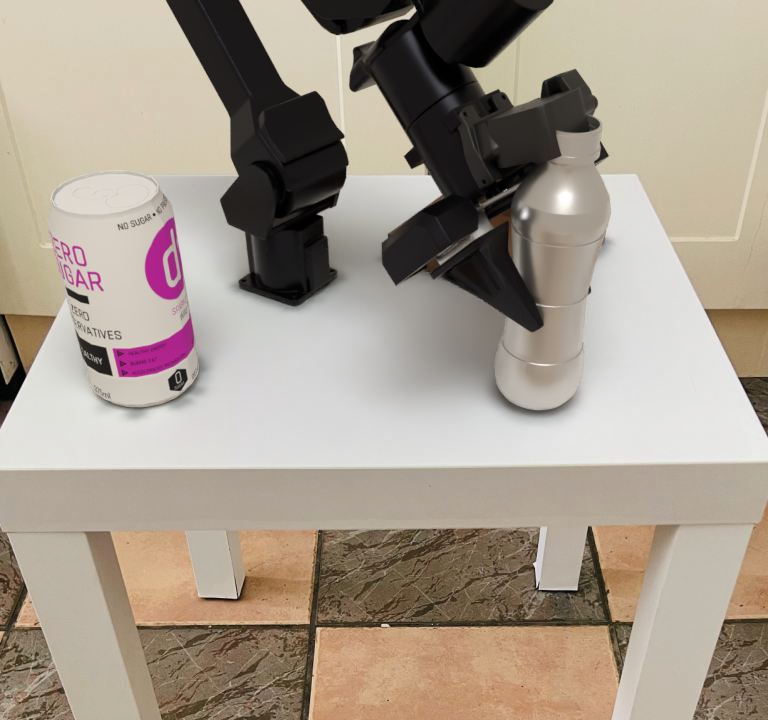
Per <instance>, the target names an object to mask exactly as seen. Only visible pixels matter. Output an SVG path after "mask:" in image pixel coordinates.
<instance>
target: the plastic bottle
mask: <svg viewBox="0 0 768 720" xmlns="http://www.w3.org/2000/svg"><path fill="white" fill-rule="evenodd" d="M586 115H587V120H588V124H589V129H590V132H585V133H569V132H563V131H559V130H556V134H557V135H556V137H557V141H558V145H559V148H560V152H561V155H562V156H560V157H558V158H556V159H553V160H550V161H547V162H543V163H539V164H536V165H535V166H534V167H533V168H532V169H531V170H530V171H529V173H528V174H527V175H526V177H525V178H524V179H523V181H522V182H521V183H520V185H519V186H518V188H517V190H516V192H515V195H514V197H513V200H512V204H511V232H512V257H513V259H512V260H513V262H514V264H515V266H516V268H517V269H518V271H519V273H520V275H521V277H522V279H523V281H524V283H525V285H526V286H527V288H528V290H529V292H530V294H531V296H532V298H533V300H534V301H535V303H536V306H537V308H538V310H539V313H540V315H541V317H542V320H543V322H544V326H543V327H542V328H540V329H539V330H537V331H535V332H530V331H528V330H527V329H525V328H524V327H522V326H520V325H519V324H517V323H516V322H514V321H513V320H511V319H510V318H508V317H507V316H505V322H504V327H503V331H502V334H501V336H500V339H499V342H498V344H497V349H496V352H495V357H494V362H493V367H494V377H495V384H496V386H497V387H498V390H499V391H500V392H501V394H502V395H503V396H504V398H505V399H506V400H507V401H509V402H510V403H512V404H514V405H515V406H518V407H520V408H523V409H527V410H533V411H547V410H552V409H556V408H558V407H561V406H562V405H564V404H565V403H566V402H567V401H569V400H570V399H571V398H572V397H573V396H574V395H575V394H576V392H577V390H578V388H579V385H580V382H581V380H582V378H583V374H584V366H585V365H584V363H585V362H584V361H585V349H584V330H585V329H584V328H585V317H586V305H587V301H588V297H589V295H588V292H589V287H590V286H591V283H592V279H593V274H594V271H595V267H596V263H597V260H598V258H599V254H600V251H601V248H602V245H603V244H602V242H603V239H604V236H605V237H606V235H605V233H606V234H607V229H608V227H609V223H610V219H611V215H612V207H611V206H612V205H611V197H610V193H609V192H608V189H607V186H606V183H605V181H604V179H603V177H602V175H601V173H600V172H599V170H598V168H597V166H595V165H594V161H595V160H597V159H598V158H599V156H600V150H601V146H600V141H601V139H602V133H603V123H602V120H601V119H600V118H597V117H596V116H594V115H593V116H592V115H588V114H586Z"/></svg>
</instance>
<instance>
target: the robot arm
mask: <svg viewBox="0 0 768 720" xmlns="http://www.w3.org/2000/svg"><path fill="white" fill-rule="evenodd" d="M554 1H555V0H300V2H301V3H302V5H303V6H304V7H305V8H306V10H307V11H308V12H309V13H310V15H311V16H312V17H313V18H314V20H315V21H316V22H317V24H319V26H320V27H321V28H322V29H324V30H325V31H327V32H328V33H329V34H332V35H334V36H341V35H349V34H352V33H356V32H359V31H361V30H365V29H367V28H371V27H374V26H377V25H379V24H380V25H381V24H383V23H386V22H388V21H391V20H394V19H398V18H401V17H403V16H406V15H407V14H409V12H410V11H412V10H413V9H415V10H416V11H414V13H413V14H411V17H410V18H401V19H398V20H395V21H392V22H391V23H389V25H388V26H387V27H385V29H384V30H383V31H382V32H381V34H380V35H379V36H378V38H377V39H376V40H372V41H368V42H366V43H363V44H360V45H356V46H355V47H353V49H352V57H353V58H352V67H351V70H350V71H349V80H348V87H349V90H350V91H351V92H352V93H358V92H361V91H363V90H366V89H368V88H370V87H373V86H376V87H377V88H378V90H379V92H380V94H381V95H382V97H383V99H384V100H385V102H386V103H387V106H388V107H389V108H390V110H391V112H392V114H393V115H394V117H395V119H396V121H397V123H399V125H400V127H401V129H402V130H403V131H404V133H405V135H406V137H407V139H408V140H409V142H410V144H411V146H412V148H410V149H409V151H407V152H406V154H404V155H403V158H404V159H405V161H406V163H407V164H408V166H409V168H410V169H411V170H413V169H415V168H418V167H419V166H422V165H423V166H424V167H425V169H426V170H427V173H428V174H429V175H430V177H431V179H432V181H433V183H434V184H435V186H436V187H437V189H438V190H439V193H440V194H441V195H443V197H444V199H442V200H440V201H438V202H436V203H434V204H432V205H430V206H428V207H426V206H425V207H426V208H425V207H423V208H424V209H423V208H422V209H421V210H419V211H418V212H416V213H415V214H413V215H412V216H413V217H412V216H411V217H412V218H411V217H410V218H411V219H409V218H408V219H409V220H408V219H407V220H408V221H407V220H406V221H407V222H406V223H405V224H403V225H402V226H401V227H400V228H399V229H398V230H396V231H395V232H394V233H393V234H392V235H391V236H389V237H388V236H387V237H386V239H384V240H383V241H381V243H380V244H381V246H380V247H381V265H382V266H383V268H384V269H385V271H386V273H387V275H388V276H389V278H390V279H391V281H392V283H393V284H394V286H395V287H398V286H400V285H402V284H404V283H405V282H407V281H408V280H410V279H412V278H414V277H415V276H417V275H419V274H420V273H422V272H424V271H426V270H425V269H426V268H427V263H428V262H430V261H431V260H432V259H433V258H434V257H436V259H437V261H438V262H439V264H440V266H439V267H438V268H436V269H435V270H434V271H432V272H429V274H428V276H429V277H430V278H431V280H432V281H435V280H437V279H439V278H440V279H443V280H445V281H447V282H449V283H450V284H452V285H454V286H456V287H458V288H460V289H462V290H463V291H465V292H466V293H469V294H470V295H473V296H474V297H475V298H478V299H479V300H481V301H483V303H485V304H487V305H489V306H490V307H492V308H493V309H494V310H496V311H498V312H499V313H500V314H502V315H504V316H505V317H506V316H507V317H508V318H510V319H511V320H513V321H514V322H516V323H517V324H519V325H520V326H522V327H524V328H525V329H527V330H528V331H530V332H535V331H537V330H539V329H540V328H542V327H543V326H544V322H543V320H542V317H541V315H540V313H539V310H538V308H537V306H536V303H535V301H534V300H533V298H532V296H531V294H530V292H529V290H528V288H527V286H526V285H525V283H524V281H523V279H522V277H521V275H520V273H519V271H518V269H517V268H516V266H515V264H514V262H513V260H512V258H511V257H510V254H509V251H508V241H509V222H508V221H506V222H504V223H502V224H501V225H499V226H497V227H495V228H494V227H493V226H492V224H491V222H490V221H491V220H493V219H495V218H496V217H498V216H500V215H502V214H503V213H505V212H507V211H509V210H511V204H512V200H513V197H514V195H515V192H516V190H517V188H518V186H519V185H520V183H521V182H522V181H523V179H524V178H525V177H526V175H527V174H528V173H529V171H530V170H531V169H532V168H533V167H534V166H535V165H536V164H539V163H543V162H547V161H550V160H553V159H556V158H558V157H560V156H562V155H561V152H560V148H559V145H558V141H557V137H556V135H557V134H556V130H559V131H563V132H569V133H585V132H590V129H589V124H588V120H587V115H586V114H588V115H592V116H594V114H595V112H596V109H598V106H599V99H598V98H597V96H596V95H594V94H593V92H592V90H591V88H590V87H589V85H588V84H587V82H586V81H585V79H584V78H583V77H582V75H581V74H580V73H579V71H578V70H577V68H573V69H570V70H566V71H563V72H560V73H557V74H555V75H553V76H550V77H548V78H546V79H544V80H543V81H542V84H541V88H540V89H541V90H540V97H536V98H534V99H532V100H529V101H528V102H527V101H526V102H525V103H522V104H518V105H515V106H514V105H513V103H512V101H511V99H510V98H509V96H508V94H506V92H504V91H501V89H500V88H497V89H495V90H492V91H490V92H488V93H486V92H485V90H484V89H483V87H482V85H481V83H480V82H479V80H478V79H477V77H476V75H475V74H474V72H473V70H472V69H483V68H486V67H489V66H490V64H491V63H493V62H494V61H495V60H496V59H497V58H498V57H499V56H500V55H501V54H502V53H503V52H504V51H505V50H506V49H507V48H508V47H509V46H510V45H511V44H512V43H513V42H515V40H516V39H517V38H519V37H520V36H521V34H523V32H525V31H526V30H527V29H528V28H529V26H531V25H532V24H533V23H534V22H535V21H536V20H537V19H538V18H539V17H540V16H541V15H542V14H543V13H544V12H545V11H546V10H547V9H549V7H550V6H551V5H552V4H553V3H554ZM165 2H166V4H167V5H168V7H169V9H170V11H171V13H172V14H173V16H174V19H175V20H176V22H177V23H178V25H179V27H180V29H181V31H182V33H183V34H184V36H185V38H186V40H187V41H188V44H189V45H190V48H191V49H192V50H193V52H194V54H195V56H196V58H197V60H198V62H199V63H200V65H201V67H202V69H203V71H204V72H205V74H206V76H207V78H208V79H209V81H210V84H211V85H212V87H213V89H214V91H215V92H216V94H217V96H218V97H219V99H220V102H221V103H222V105H223V106H224V108H225V110H226V112H227V114H228V116H229V120H230V121H229V133H230V134H229V135H230V136H229V141H230V142H229V143H230V145H229V146H230V147H229V149H230V150H229V151H230V153H229V154H230V160H231V162H232V164H233V167H234V169H235V171H236V173H237V175H238V176H237V177H236V179H234V181H233V182H232V183H231V185H230V186H229V187H228V188H227V190H225V192H224V194H223V195H221V197H220V198H219V203H220V206H221V209H222V212H223V215H224V217H225V220H226V224H227V225H229V226H231V227H233V228H235V229H237V230H239V231H242V232H244V237H245V246H246V254H247V263H248V269H249V270H248V273H247V274H245V275H244V276H243V277H241V278H239V279H238V281H237V283H238V287H239V288H242V289H245V290H247V291H251V292H253V293H256V294H259V295H262V296H265V297H268V298H271V299H274V300H277V301H280V302H283V303H286V304H289V305H292V306H296V305H297V306H298V305H300V304H301V303H302V302H304V301H305V300H306V299H308V298H309V297H310V296H312V295H313V294H314V293H316V292H317V291H319V290H320V289H321V288H323V287H324V286H326V285H327V284H329V282H331V281H332V280H334V279H335V278H337V276H338V270H337V269H336V268H334V267H330V250H329V249H330V248H329V238H328V236H327V235H326V234H325V224H324V216H323V215H321V214H320V213H323V212H324V211H326V210H329V209H333V208H335V207H336V206H337V204H338V201H339V197H340V194H341V190H342V189H343V188H344V187H345V183H346V180H347V173H348V172H347V171H348V166H349V164H350V161H349V157H348V152H347V150H346V148H345V145H344V144H343V142H342V140H343V139H345V137H346V136H345V134H344V132H342V130H341V129H340V128H339V127H338V126H337V124H336V123H335V121H334V120H333V118H332V116H331V113H330V111H329V108H328V106H327V104H326V101H325V99H324V98H323V96H322V95H320V93H319V92H318V91H316V90H313V91H310V92H307V93H304V94H302V95H300V94H299V93H298V92H296V90H294V89H292V88H291V87H290V86H288V85H287V84H286V83H285V82H284V81H283V79H282V77H281V75H280V73H279V71H278V69H277V68H276V65H275V64H274V62H273V60H272V59H271V57H270V55H269V52H268V51H267V49H266V48H265V46H264V43H263V41H262V39H261V38H260V36H259V34H258V32H257V30H256V29H255V27H254V25H253V23H252V21H251V19H250V18H249V17H250V16H248V14H247V12H246V10H245V8H244V6H243V5H242V2H241V0H165ZM600 146H601V150H600V156H599V158H598V159H597V160H595V161H594V165H595V166H596V167H597V166H599V165H601V164H602V162H604V161H605V160H607V159H608V158H609V157H610V154H609V153H608V151H607V150H606V148H605V146H604V144H603V142H602V140H600ZM484 200H485V202H483V203H480V202H482V201H484ZM591 293H592V286H591V285H590V287H589V292H588V296H589V295H591Z"/></svg>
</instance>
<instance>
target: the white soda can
mask: <svg viewBox="0 0 768 720" xmlns="http://www.w3.org/2000/svg"><path fill="white" fill-rule="evenodd" d="M49 199H50V203H51V204H50V208H49V211H48V215H47V218H46V227H47V230H48V234H49V238H50V242H51V246H52V248H53V253H54V256H55V260H56V264H57V267H58V272H59V276H60V279H61V283H62V287H63V290H64V294H65V297H66V301H67V304H68V309H69V311H70V316H71V320H72V323H73V327H74V331H75V334H76V339H77V342H78V346H79V349H80V352H81V357H82V360H83V364H84V368H85V371H86V376H87V379H88V383H89V385H90V387H91V389H92V390H93V391H92V392H94V393H95V394H96V395H98V396H99V397H100V398H102V399H104V400H105V401H108V402H111V404H113V405H116V406H117V405H118V406H122V407H126V408H147V407H155V406H158V405H162V404H164V403H165V404H166V403H167V402H169V401H173V400H174V399H177V398H178V397H179V396H180V395H182V394H183V393H184V392H186V391H187V390H188V389H189V387H190V386H191V385H192V384H194V381H195V380H196V379H197V376H198V375H199V371H200V370H199V366H200V362H199V357H198V350H197V344H196V339H195V338H196V337H195V333H194V327H193V320H192V316H191V309H190V303H189V297H188V291H187V285H186V279H185V274H184V267H183V262H182V256H181V249H180V244H179V243H180V242H179V238H178V233H177V227H176V220H175V215H174V209H173V204H172V203H171V201H170V200H169V199H168V197H167V196H166V195H165V193H163V191H162V190H161V188H160V183H159V182H158V181H157V180H156V179H155V178H154V177H152V176H151V175H148V174H146V173H143V172H140V171H134V170H129V169H122V170H121V169H106V170H100V171H91V172H88V173H85V174H80V175H77V176H74V177H71V178H70V179H67V180H65V181H63V182H61V183H60V184H59V185H57V187H56V188H55V189H53V190H52V192H51V195H50V198H49Z"/></svg>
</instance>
